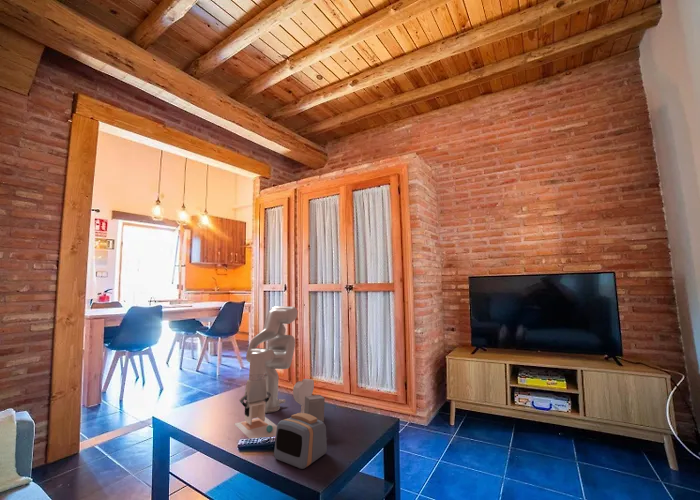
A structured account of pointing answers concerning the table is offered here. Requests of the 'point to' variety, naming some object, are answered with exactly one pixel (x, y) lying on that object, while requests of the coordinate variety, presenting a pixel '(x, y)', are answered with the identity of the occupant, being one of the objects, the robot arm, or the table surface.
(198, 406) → the table surface
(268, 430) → the marble
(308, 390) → the heart sculpture
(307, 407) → the skincare box
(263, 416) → the cream rectangular block
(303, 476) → the table surface
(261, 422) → the mat
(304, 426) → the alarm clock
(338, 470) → the table surface
